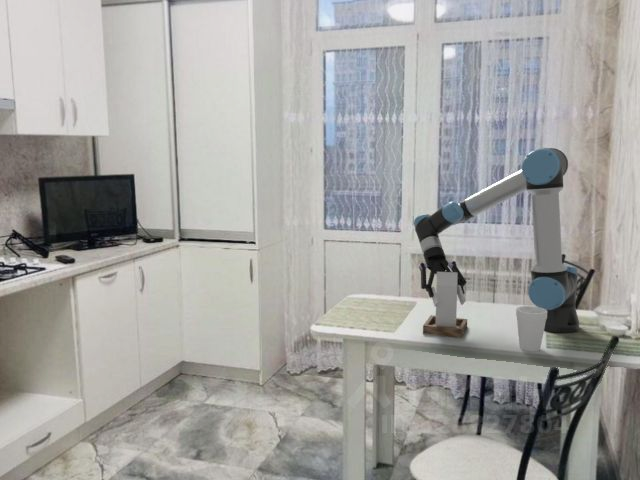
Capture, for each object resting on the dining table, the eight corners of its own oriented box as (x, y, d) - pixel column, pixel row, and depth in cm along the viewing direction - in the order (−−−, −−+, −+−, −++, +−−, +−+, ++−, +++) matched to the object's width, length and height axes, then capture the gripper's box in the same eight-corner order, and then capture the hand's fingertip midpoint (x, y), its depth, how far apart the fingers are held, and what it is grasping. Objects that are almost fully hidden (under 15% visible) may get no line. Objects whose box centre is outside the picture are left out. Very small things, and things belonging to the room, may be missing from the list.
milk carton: (455, 327, 206) (457, 274, 203) (435, 326, 207) (436, 273, 204) (455, 321, 213) (457, 270, 210) (435, 320, 214) (437, 269, 211)
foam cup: (513, 342, 197) (515, 305, 195) (542, 344, 195) (544, 306, 193) (516, 352, 188) (518, 313, 185) (547, 354, 186) (549, 314, 184)
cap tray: (467, 326, 214) (467, 319, 213) (461, 338, 202) (461, 329, 201) (430, 322, 219) (430, 315, 218) (422, 333, 207) (423, 325, 206)
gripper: (456, 255, 224) (474, 306, 211) (402, 258, 219) (417, 311, 206) (463, 244, 218) (482, 296, 205) (407, 246, 213) (424, 300, 200)
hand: (450, 303), depth 205 cm, fingers closed on milk carton, 9 cm apart
